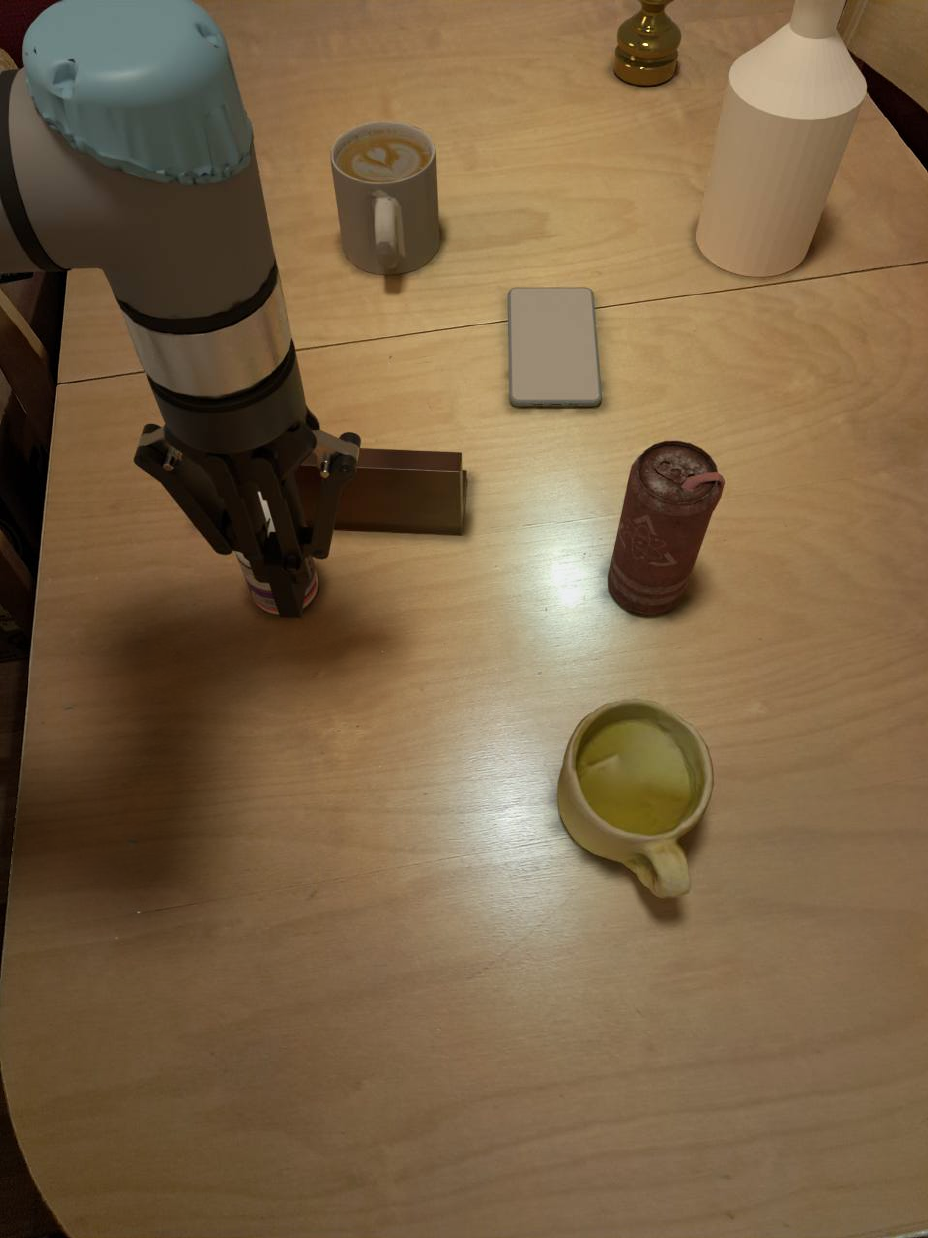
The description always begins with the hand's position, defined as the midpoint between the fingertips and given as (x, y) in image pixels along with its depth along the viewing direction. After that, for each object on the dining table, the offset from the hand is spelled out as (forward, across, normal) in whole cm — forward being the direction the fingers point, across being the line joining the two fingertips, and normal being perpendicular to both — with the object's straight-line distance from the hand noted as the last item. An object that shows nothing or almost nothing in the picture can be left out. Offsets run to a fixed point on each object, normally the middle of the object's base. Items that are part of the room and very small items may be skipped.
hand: (293, 601), depth 67 cm
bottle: (+6, -38, -50) cm, 63 cm away
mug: (+6, -24, +13) cm, 28 cm away
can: (+6, -26, -7) cm, 28 cm away
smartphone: (+6, -18, -33) cm, 38 cm away
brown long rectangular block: (+6, 0, -14) cm, 15 cm away
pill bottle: (+6, +2, -5) cm, 8 cm away
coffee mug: (+6, -2, -46) cm, 46 cm away
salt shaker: (+6, -29, -81) cm, 86 cm away
